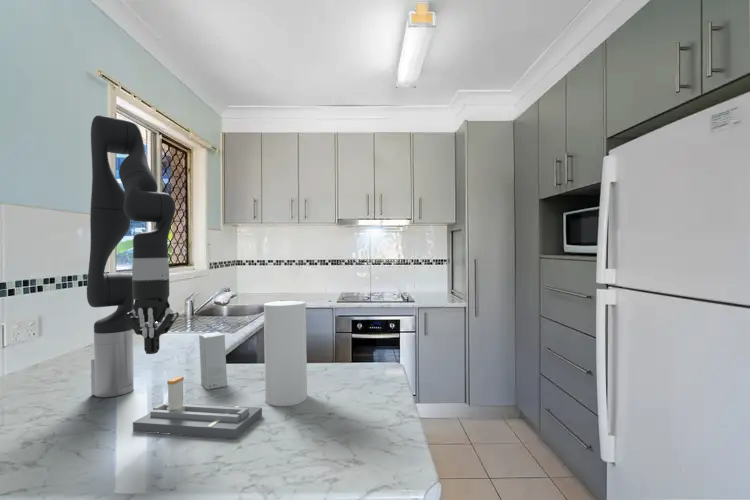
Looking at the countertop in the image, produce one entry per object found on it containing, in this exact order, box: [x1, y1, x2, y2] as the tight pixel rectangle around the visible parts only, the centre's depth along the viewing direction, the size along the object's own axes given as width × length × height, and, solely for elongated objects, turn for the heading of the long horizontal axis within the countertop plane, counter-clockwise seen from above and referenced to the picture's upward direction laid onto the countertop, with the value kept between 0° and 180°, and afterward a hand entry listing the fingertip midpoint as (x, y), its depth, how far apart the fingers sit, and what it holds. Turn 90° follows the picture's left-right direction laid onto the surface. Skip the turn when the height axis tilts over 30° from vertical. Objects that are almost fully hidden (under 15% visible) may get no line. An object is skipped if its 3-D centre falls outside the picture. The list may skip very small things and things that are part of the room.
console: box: [132, 402, 263, 440], centre depth 93 cm, size 24×12×3 cm, turn 79°
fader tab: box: [167, 376, 185, 411], centre depth 94 cm, size 3×3×8 cm
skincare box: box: [198, 331, 228, 390], centre depth 121 cm, size 8×6×15 cm
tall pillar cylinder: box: [263, 300, 308, 407], centre depth 108 cm, size 11×11×25 cm
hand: (152, 353), depth 95 cm, fingers closed
